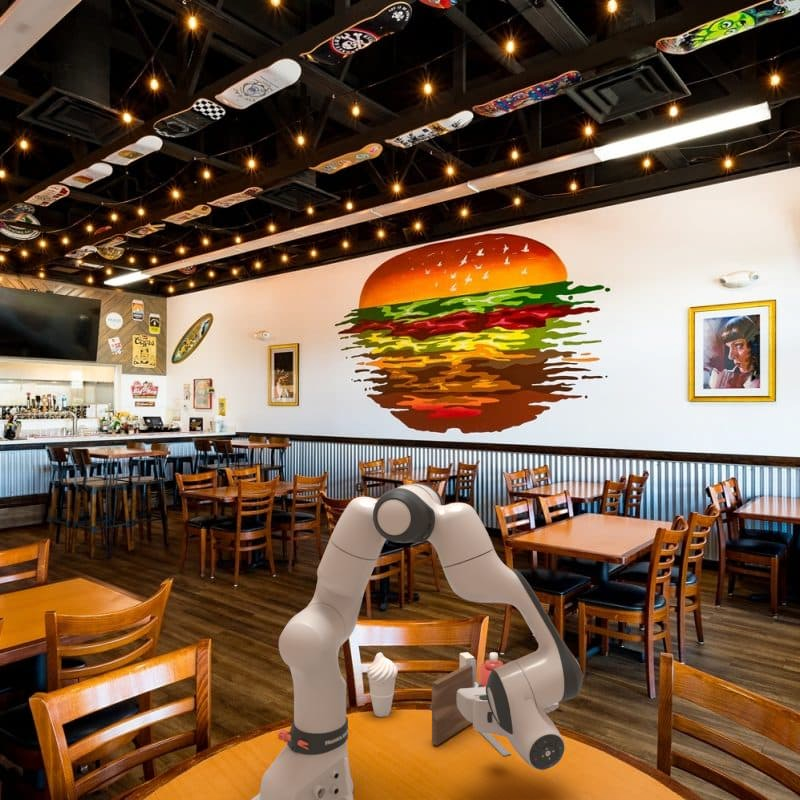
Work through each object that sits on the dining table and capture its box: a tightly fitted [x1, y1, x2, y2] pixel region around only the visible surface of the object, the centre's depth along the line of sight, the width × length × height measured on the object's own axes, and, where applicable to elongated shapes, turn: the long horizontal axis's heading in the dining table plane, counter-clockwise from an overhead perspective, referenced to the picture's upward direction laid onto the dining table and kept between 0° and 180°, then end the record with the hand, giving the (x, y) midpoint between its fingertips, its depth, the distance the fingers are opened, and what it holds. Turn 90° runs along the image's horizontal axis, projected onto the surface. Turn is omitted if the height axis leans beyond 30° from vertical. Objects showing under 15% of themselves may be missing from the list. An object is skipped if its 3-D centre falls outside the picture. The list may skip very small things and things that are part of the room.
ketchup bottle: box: [479, 651, 504, 687], centre depth 137 cm, size 6×6×15 cm
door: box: [429, 664, 473, 746], centre depth 152 cm, size 3×15×14 cm, turn 138°
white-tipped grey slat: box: [459, 651, 512, 757], centre depth 153 cm, size 2×22×16 cm, turn 21°
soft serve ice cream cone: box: [366, 652, 399, 718], centre depth 163 cm, size 8×8×16 cm
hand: (492, 684), depth 138 cm, fingers closed on ketchup bottle, 6 cm apart
